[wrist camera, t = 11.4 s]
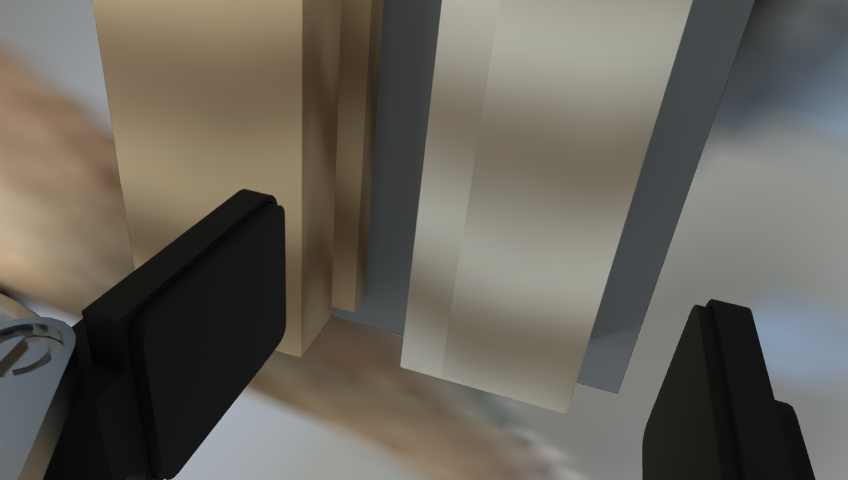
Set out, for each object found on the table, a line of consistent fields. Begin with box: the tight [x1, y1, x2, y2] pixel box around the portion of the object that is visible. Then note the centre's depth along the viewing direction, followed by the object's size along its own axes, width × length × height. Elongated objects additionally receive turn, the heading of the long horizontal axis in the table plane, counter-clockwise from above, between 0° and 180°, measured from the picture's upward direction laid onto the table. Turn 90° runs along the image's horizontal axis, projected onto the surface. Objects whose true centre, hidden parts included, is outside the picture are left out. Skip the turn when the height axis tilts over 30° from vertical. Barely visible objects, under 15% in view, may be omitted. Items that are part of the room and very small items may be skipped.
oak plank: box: [92, 0, 384, 358], centre depth 21 cm, size 20×8×4 cm, turn 174°
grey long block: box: [400, 0, 693, 414], centre depth 20 cm, size 18×6×4 cm, turn 173°
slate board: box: [332, 0, 755, 394], centre depth 23 cm, size 22×20×2 cm
